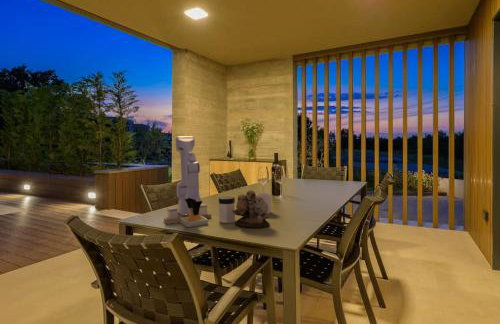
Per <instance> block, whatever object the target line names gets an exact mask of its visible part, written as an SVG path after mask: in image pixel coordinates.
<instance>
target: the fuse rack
mask: <svg viewBox="0 0 500 324" xmlns="http://www.w3.org/2000/svg"><path fill="white" fill-rule="evenodd" d="M201 216H203V217H205V218H209V219H212V213H209V212H207V215H201ZM184 217H189V214H187V215H181V214H179V215H178V219H172V220H168V216H165V217H163V222H164V221H165V222H166V223H167V224H166V223H165V222H164V223H165V224H166V225H172V224H171V223H174V224H179V223H178V222H180V218H184Z"/></svg>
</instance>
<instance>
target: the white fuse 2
mask: <svg viewBox="0 0 500 324" xmlns="http://www.w3.org/2000/svg"><path fill="white" fill-rule="evenodd" d="M207 213H208V204H206V203H201V206H200V209H199V215H207Z"/></svg>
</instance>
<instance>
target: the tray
mask: <svg viewBox="0 0 500 324" xmlns="http://www.w3.org/2000/svg"><path fill="white" fill-rule="evenodd" d="M180 222H181V223H182V224H181V223H180V224H181V225H183V226H184V225H185V226H184V227H186V228H187V227H188V228H192V227H193V226H194V227H198V226H205V225H209V219H207V218H205V217H203V216H201V215H199V220H197V221H190V222H189V217H184V218H180ZM194 227H193V228H194Z"/></svg>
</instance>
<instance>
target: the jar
mask: <svg viewBox="0 0 500 324" xmlns="http://www.w3.org/2000/svg"><path fill="white" fill-rule="evenodd" d="M235 198H236V197H235V196H232V195H231V196H230V195H229V196H227V195H226V196H225V195H224V196H220V197H218V222H219V223H223V224H229V223H235V222H236V215H235V213H233V210H236V203H235V202H236V199H235Z"/></svg>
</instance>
